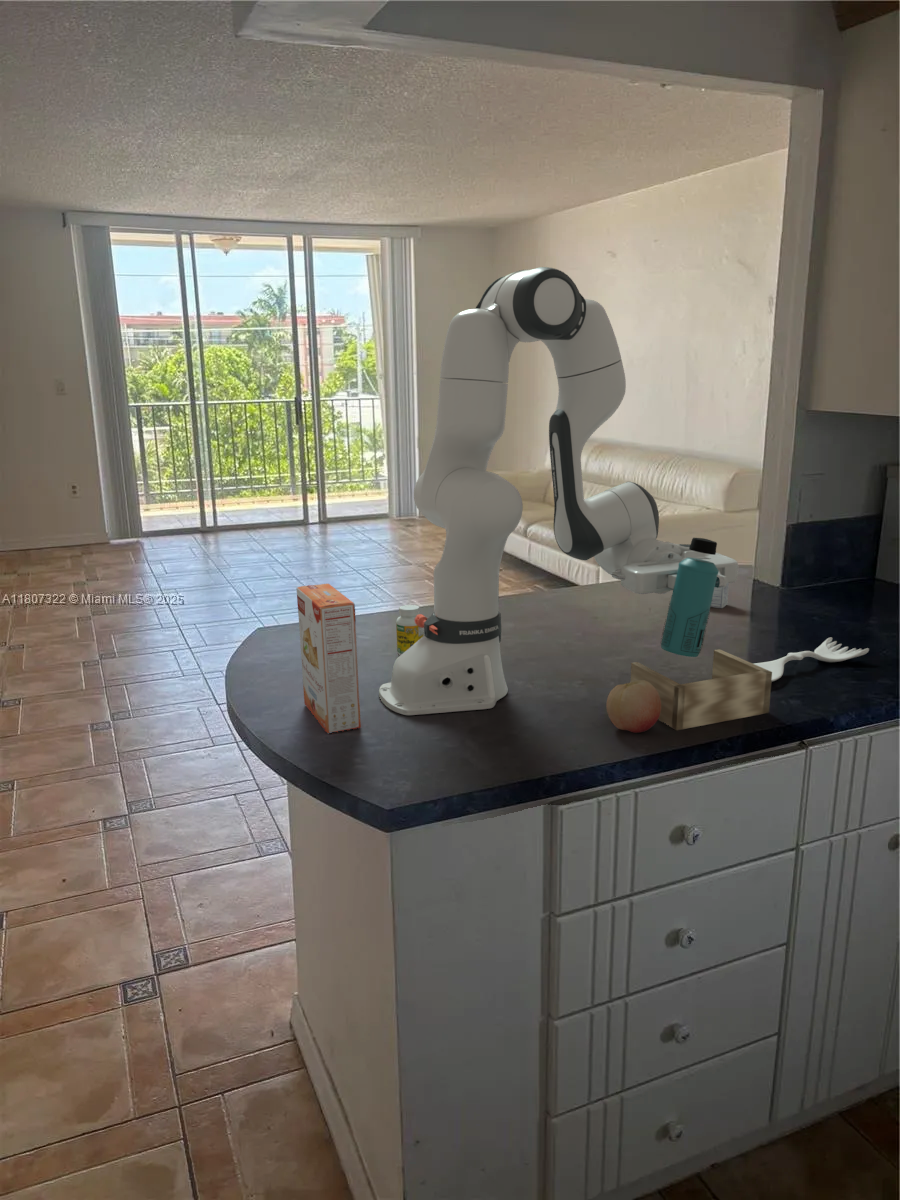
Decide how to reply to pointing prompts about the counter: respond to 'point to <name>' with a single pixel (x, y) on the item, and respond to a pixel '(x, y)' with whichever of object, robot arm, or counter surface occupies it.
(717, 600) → the medicine box
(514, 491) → the robot arm
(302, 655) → the cracker box
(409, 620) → the supplement bottle
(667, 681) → the box
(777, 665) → the white long slender part
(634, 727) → the fruit
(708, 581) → the beverage bottle
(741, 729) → the counter surface
